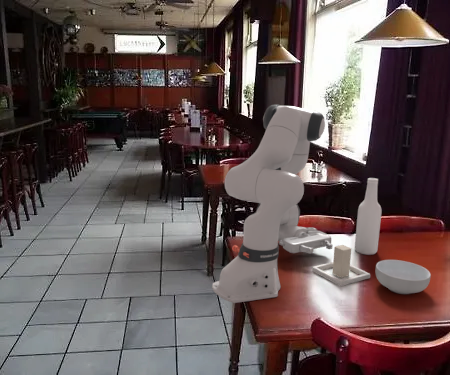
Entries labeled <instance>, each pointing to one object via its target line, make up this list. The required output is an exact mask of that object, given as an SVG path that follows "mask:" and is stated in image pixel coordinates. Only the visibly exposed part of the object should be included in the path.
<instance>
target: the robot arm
mask: <svg viewBox="0 0 450 375" xmlns="http://www.w3.org/2000/svg"><path fill="white" fill-rule="evenodd" d="M262 120H263V122H262V123H263V124H262V126H263V128H264V129H265V132H264V135H263V137H262V138H261V140H260V143H259V145H258V147H257V149H256V150H255V152H253V154H251V156H249V158H247V159H246V160H244V161H243V162H242V163H240V164H238V165H236V166H233V167H231V168H230V169H229V170H228V171H227V173H226V174H225V176H224V177H225V179H224V189H225V191H226V193H227V195H229V196H230V197H233V198H234V199H238V200H241V201H243V202H244V201H246V202H252V203H257V204H258V205H257V208H256V211H255V212H254V213H252V214H250V215H249V216H248V217H246V218H245V221H244V223H243V237H242V238H243V241H242V243H241V245H240V247H239V246H238V245H236V244H234V245H232V251H233V252H234V253H236V254H237V256H236V257H235V258H234V259H232V260H231V261H230V262H229V263H228V264H227V265H225V266H224V267H223V268H222V269H221V271H220V274H219V278H218V279H219V280H217V281H214V282H212V286H211V288H212V291H213V292H214V293H215V294H216V295H217V296H218V297H220V298H221V299H223V300H224V301H227V302H230V303H234V304H236V303H242V302H243V303H244V302H250V301H256V300H263V299H264V300H265V299H271V298H277V297H278V296H279V290H281V283H280V278H279V272H278V271H279V270H278V258H279V255H280V254H279V252H280V251H279V250H280V246H282V248H283V249H284V250H285V251H287V252H289V253H291V254H297V253H302V252H303V253H307V254H314V250H315V249H320V248H325V249H327V250H332V249H333V244H332V236H331V235H330V234H327V233H325V232H323V231H321V230H317V228H315V227H305V226H298V224H299V220H300V216H301V209H300V207H299V205H298V203H300V202H301V200H302V198H303V195H304V192H305V186H304V182H303V180H302V178H301V177H300V175H298V174H299V173H300V172H302V171H303V170H304V169H305V167H306V166H307V164H308V163H307V162H308V159H309V153H310V144H311V142H314V141H317V140H319V139H321V137H322V135H323V134H324V132H325V128H326V122H325V121H326V120H325V116H324V115H323V114H322V112H318V111H316V110H310V109H305V108H302V107H298V106H293V105H280V104H271V105H269V106H268V107H267V108H266V110H265V112H264V115H263V118H262ZM279 245H280V246H279Z"/></svg>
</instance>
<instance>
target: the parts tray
mask: <svg viewBox="0 0 450 375" xmlns="http://www.w3.org/2000/svg"><path fill="white" fill-rule="evenodd" d="M331 268H332V269H333V261H332V262H328V263H327V262H326V263H323V264H319V265H315V266H312V268H311V271H312V272H313V273H315V274H317V275H319V276H321V277H323V278H325V279H327V280H329V281H330V282H332V283H334V284H335V285H337V286H340V287H344V286H346V285H350V284H353V283H354V284H355V283H358V282H361V281H363V280H368V279H370V278H371V273H370V272H367V271H365V270H364V269H361V268H360V267H357V266H354V265H353V264H350V269H349V271H351V272H354V273H356V274H358V275H356V276H355V275H354V276H352V277H349V278H344V279H339V277H338V278H337V277H335V276H334V275H332V274H330V273H328V272H326V271H324V270H328V269H331Z"/></svg>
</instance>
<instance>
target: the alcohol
mask: <svg viewBox="0 0 450 375" xmlns="http://www.w3.org/2000/svg"><path fill="white" fill-rule="evenodd" d="M366 183H367V185H366V190H365V195H364V200H363V201H362V202H360V204H359V206H358V209H357V219H356V228H355V230H356V231H355V242H354V251H355V252H357V253H359V254H361V255H367V256H371V255H372V256H373V255H375V254H376V253H377V252H378V248H379V238H380V230H381V221H382V220H381V219H382V211H383V210H382V207H381V205H380V203H379V202H378V186H379V178H375V177H369V178H367V181H366Z"/></svg>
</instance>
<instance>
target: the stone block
mask: <svg viewBox="0 0 450 375" xmlns="http://www.w3.org/2000/svg"><path fill="white" fill-rule="evenodd" d="M351 257H352V248H351V247H348V246H346V245H344V244H341V245H336V246H334V249H333V260H332V262H333V267H332V272H331V273H332V274H333V276H334V275H335V276H337V277H338V278H344V277H348V276H350V270H349V269H350V265H351Z"/></svg>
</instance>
